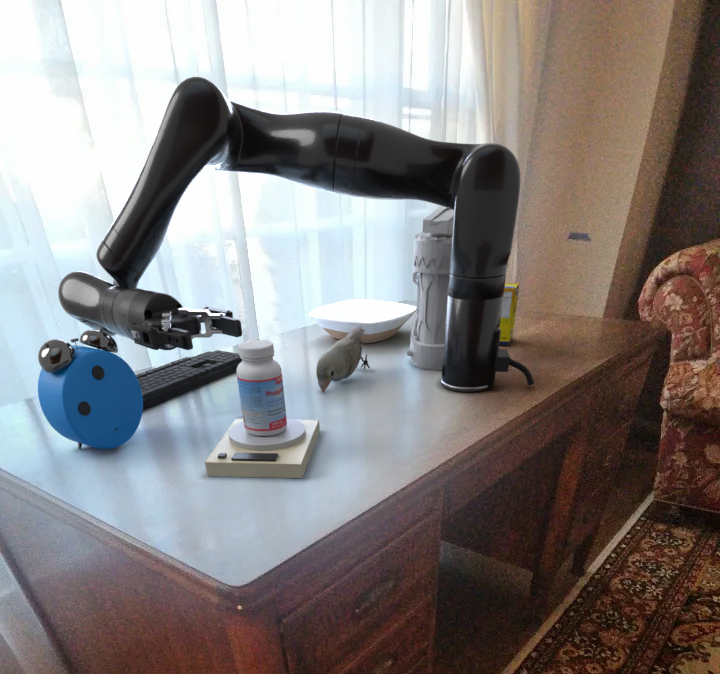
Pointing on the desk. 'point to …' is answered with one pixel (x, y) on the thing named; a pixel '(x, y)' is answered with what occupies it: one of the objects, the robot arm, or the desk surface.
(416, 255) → the lantern
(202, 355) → the keyboard
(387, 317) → the bowl
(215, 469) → the scale
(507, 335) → the supplement box
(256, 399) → the pill bottle
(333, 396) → the desk surface
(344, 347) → the decorative bird
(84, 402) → the alarm clock
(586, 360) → the desk surface
